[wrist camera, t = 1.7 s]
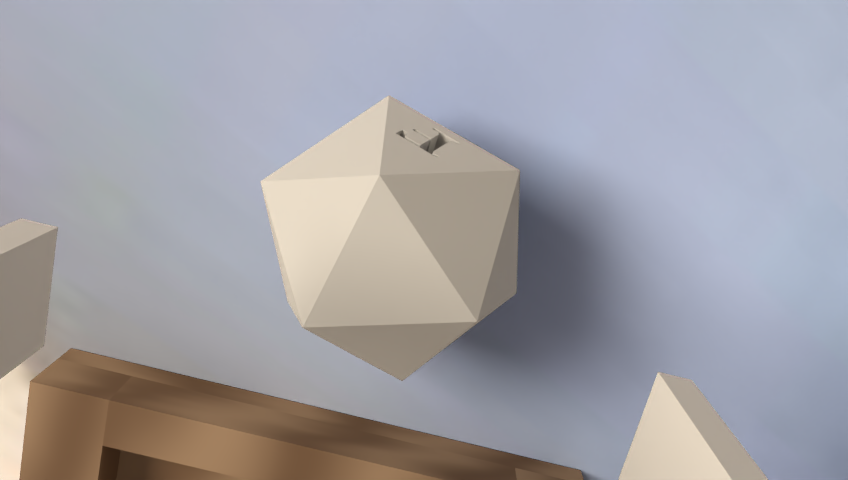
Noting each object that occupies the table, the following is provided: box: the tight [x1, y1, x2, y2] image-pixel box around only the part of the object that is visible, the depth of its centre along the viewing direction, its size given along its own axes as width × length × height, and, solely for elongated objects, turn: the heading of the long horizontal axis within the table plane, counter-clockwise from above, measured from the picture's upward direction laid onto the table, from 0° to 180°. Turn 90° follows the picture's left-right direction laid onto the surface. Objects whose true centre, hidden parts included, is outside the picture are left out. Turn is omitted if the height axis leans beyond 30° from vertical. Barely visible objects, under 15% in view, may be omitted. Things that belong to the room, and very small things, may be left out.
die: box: [261, 96, 520, 381], centre depth 24 cm, size 8×9×10 cm
